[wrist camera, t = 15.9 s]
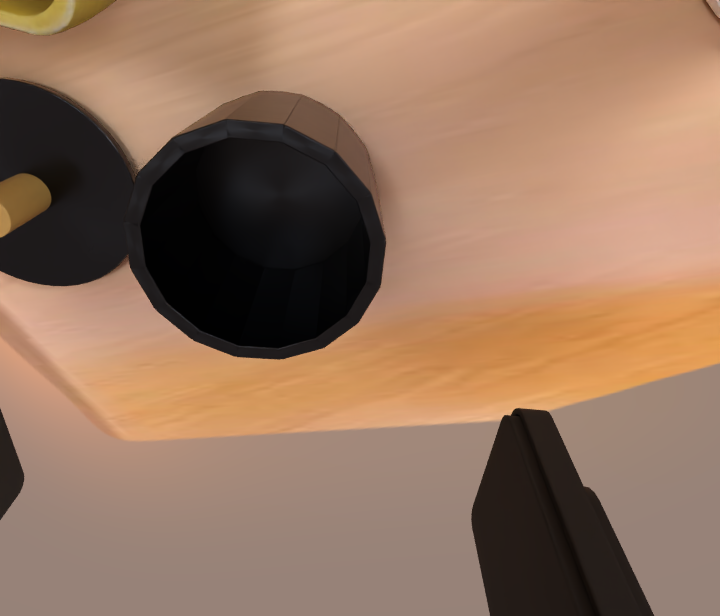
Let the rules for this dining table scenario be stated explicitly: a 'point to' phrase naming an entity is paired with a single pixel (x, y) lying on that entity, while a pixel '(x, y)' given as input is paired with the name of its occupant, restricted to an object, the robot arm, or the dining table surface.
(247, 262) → the tin
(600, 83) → the dining table surface
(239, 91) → the dining table surface
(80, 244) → the tin lid
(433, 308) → the dining table surface
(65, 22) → the flower pot
